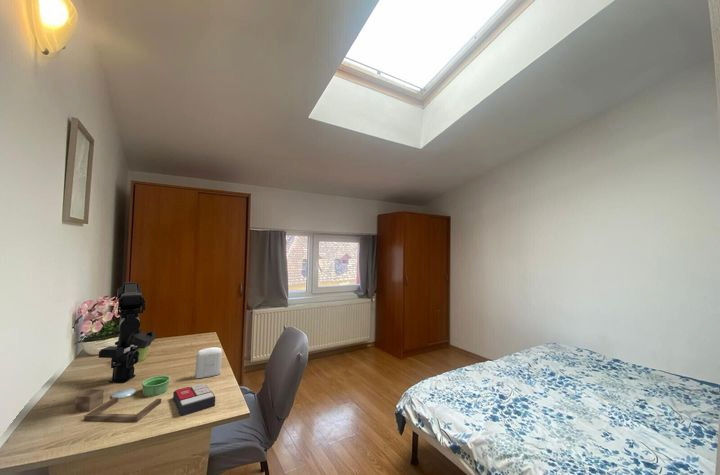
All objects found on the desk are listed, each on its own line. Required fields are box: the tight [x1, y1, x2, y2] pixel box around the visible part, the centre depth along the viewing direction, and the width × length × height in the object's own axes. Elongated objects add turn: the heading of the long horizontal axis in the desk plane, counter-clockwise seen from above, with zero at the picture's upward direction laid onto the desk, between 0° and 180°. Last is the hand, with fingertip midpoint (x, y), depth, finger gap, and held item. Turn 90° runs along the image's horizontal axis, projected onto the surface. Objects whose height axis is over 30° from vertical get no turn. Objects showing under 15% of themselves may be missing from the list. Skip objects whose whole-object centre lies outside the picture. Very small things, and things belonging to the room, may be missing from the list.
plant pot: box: [138, 346, 149, 363], centre depth 138 cm, size 9×9×9 cm
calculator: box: [172, 382, 216, 417], centre depth 104 cm, size 11×4×15 cm
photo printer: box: [194, 346, 223, 379], centre depth 126 cm, size 10×4×12 cm, turn 123°
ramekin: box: [141, 375, 171, 397], centre depth 110 cm, size 9×9×4 cm
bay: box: [83, 397, 162, 423], centre depth 96 cm, size 17×12×2 cm
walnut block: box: [74, 388, 105, 413], centre depth 98 cm, size 5×5×5 cm
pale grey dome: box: [110, 387, 136, 400], centre depth 107 cm, size 7×7×1 cm
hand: (125, 368), depth 107 cm, fingers closed
